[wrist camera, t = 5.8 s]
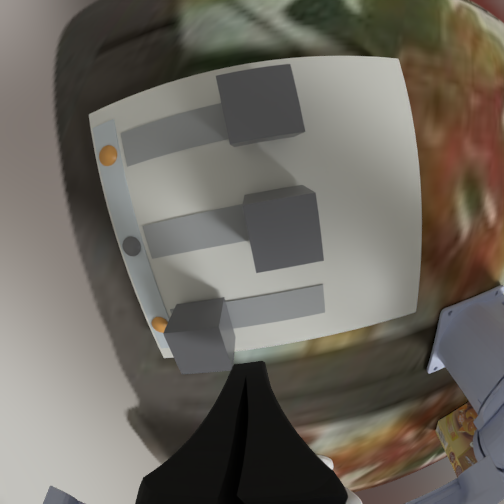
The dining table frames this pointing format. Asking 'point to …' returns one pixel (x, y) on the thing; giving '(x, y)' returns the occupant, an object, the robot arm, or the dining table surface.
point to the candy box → (458, 437)
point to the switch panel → (264, 179)
